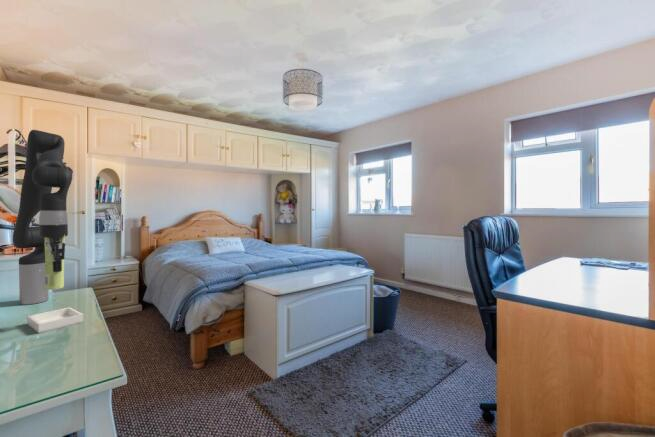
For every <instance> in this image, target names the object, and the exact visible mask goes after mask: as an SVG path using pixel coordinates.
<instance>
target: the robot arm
mask: <svg viewBox="0 0 655 437" xmlns="http://www.w3.org/2000/svg"><path fill="white" fill-rule="evenodd" d="M27 135H28V136H27V142H26V143H27V144H26V157H25V168H24V174H23V178H22V183H21V184H22V185H21V190H20V198H19V208H18V213H17V217H16V222H15V225H14V229H13V233H12V243H13V246H14V247H15V248H16V249H32V248H34V250H33V251H32V252H30V253H28V254H26V255H23V256H20V257H19V259H18V280H19V281H18V289H19V305H34V304H40V303H43V302H47V301H49V300H50V298H49V297H50V296H49V290H47V289H45V243H46V246H47V244H48V248H49V252H50V255H51V256H52V260H53V272H60V271H62V260H63V259H64V260H65V258H66V257H65V252H66V251H65V250H66V242H65V243H62V241H61V237H62V236H64V234H65V237H67V236H68V235H69V229H68V228H69V226H68V225H69V224H68V221H69V219H68V213H67V198H68V194H69V193H68V192H69V189H70V187H71V184H72V180H73V173H72V172H71V170H69V169H68V168H65V167H64V166H65V165H64V161H63V160H64V154H65V145H66V144H65V140H64V137H63V136H62V135H59V134H55V133H51V132H48V131H43V130H38V129H31V130H30V131H29V132H28V134H27ZM38 154H40V155H39V156H37V155H38ZM53 188H59V189H58V190H57V191H55V192H52V191H53ZM38 214H39V216H38V226H31V223H32V221H33V219H34V218H35V217H36V216H37V215H38ZM45 237H48V238H49V241H50V243H47V242H45ZM58 254H59V255H60V256H57V255H58Z"/></svg>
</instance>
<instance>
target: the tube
mask: <svg viewBox="0 0 655 437" xmlns="http://www.w3.org/2000/svg"><path fill="white" fill-rule="evenodd" d="M65 240H66V236H65V234H64V236H62V237H61V241H62V243H65V244H66V242H65ZM45 242H47V243H50V241H49V238H48V237H45ZM57 256H60V255H59V254H58V255H57ZM64 287H65V258H64V259H63V260H62V271H60V272H53V260H52V256H51V255H50V252H49V248H48V244H47V246H46V243H45V289H47V290H48V291H49V290H50V291H51V290H59V289H63V288H64Z"/></svg>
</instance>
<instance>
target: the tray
mask: <svg viewBox="0 0 655 437" xmlns="http://www.w3.org/2000/svg"><path fill="white" fill-rule="evenodd" d="M84 319H85V318H84V313H82V312H80V311H78V310H76V309H74V308H72V307H69V306H68V307H65V308H59V309H54V310H50V311H44V312H40V313H34V314H31V315H26V320H27V321H26V322H27V323H26V324H27V325H28V326H29V327H30V328H31V329H33V330H34V331H35V332H37V333H38V334H41V333H42V334H43V333H48V332H51V331H55V330H58V329H63V328H67V327H71V326H75V325H78V324H79V325H80V324H83V323H84V322H85V321H84Z"/></svg>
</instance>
